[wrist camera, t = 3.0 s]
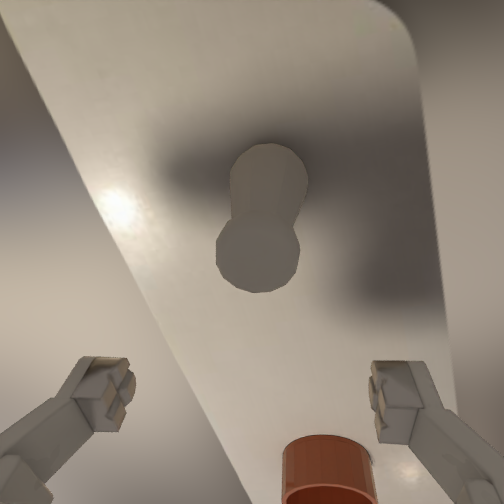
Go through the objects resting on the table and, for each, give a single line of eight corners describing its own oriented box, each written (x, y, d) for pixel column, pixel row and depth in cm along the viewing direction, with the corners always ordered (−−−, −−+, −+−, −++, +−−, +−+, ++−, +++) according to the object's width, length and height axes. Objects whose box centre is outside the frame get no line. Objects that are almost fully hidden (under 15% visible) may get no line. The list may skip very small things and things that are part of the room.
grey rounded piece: (236, 131, 26) (195, 205, 15) (312, 138, 26) (326, 219, 15) (233, 201, 29) (197, 305, 18) (301, 209, 29) (305, 318, 18)
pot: (373, 437, 46) (383, 487, 41) (365, 482, 52) (373, 530, 47) (281, 432, 47) (279, 480, 42) (284, 476, 54) (283, 522, 49)
